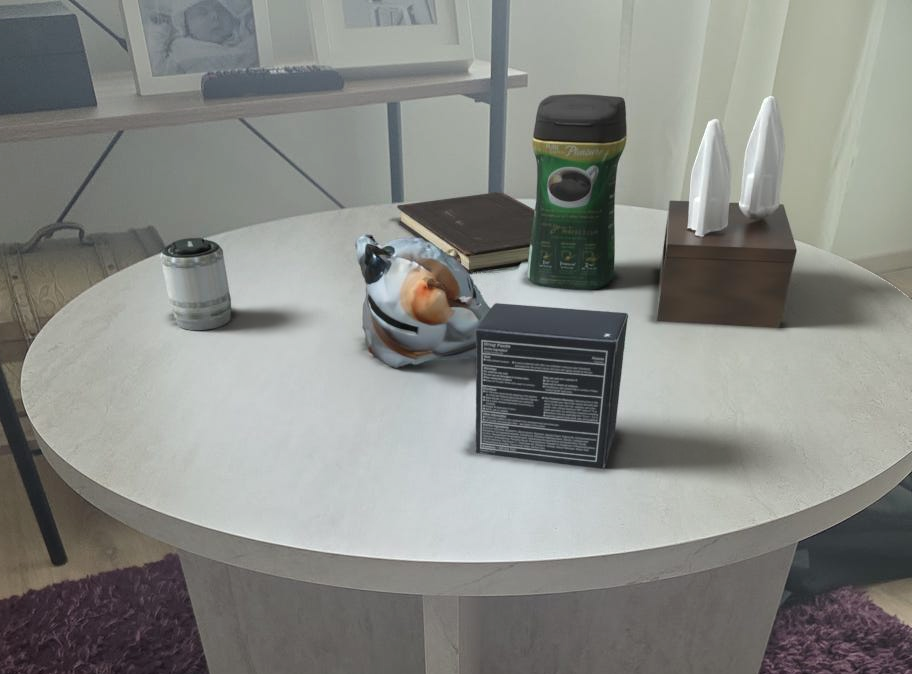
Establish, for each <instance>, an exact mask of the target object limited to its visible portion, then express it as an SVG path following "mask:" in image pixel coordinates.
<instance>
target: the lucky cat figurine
mask: <svg viewBox="0 0 912 674" xmlns="http://www.w3.org/2000/svg"><path fill="white" fill-rule="evenodd" d="M354 247H355V249H356V260H357V263H358V265H359V267H360V271H361V275H362V277H363V279H364V283H365V298H364V301H363V304H362V318H361V319H362V330H363V331H364V342H365V346H366V348H367V351H368V353H369V354H372V355H373V356H374V357H376V358H377V359H379V360H380V361H382V362H384V363H385V364H386V365H388V366H390V367H393V368H394V369H398V368H402V367H405V366H408V365H411V364H413V365H419V364H422V363H424V362H427V361H437V360H438V361H440V360H453V359H454V360H455V359H464V358H466V359H468V358H475V357H476V358H477V354H476V346H477V343H476V328H477V327H478V325H479V324H480V322H481V321H482V320H483V318H484V317H485V315H486V314H487V313H488V311H489V310H490V309H491V307H490V306H489V305H488V303H487V302H486V301H485V298H484V297H483V295H482V293H481V291H480V289H479V287H478V286H477V285H476V283H474V280H473V278H472V276H471V274H470V273H468V272H467V271H466V269H465V268H464V267H463V266H462V265H461V258H460V255H459V254H458V252H457V251H456V250H454V249H450V250H448V251H446V252H444V251H443V250H442V249H439V248H438V247H437V246H436V245H434V244H432V243H430V242H426V241H424V240H423V239H422V238H417V237H398V238H397V237H396V238H394V239H392V240H389V241H387V242H386V243H385V244H380V243H378V241H376V239H375V238H374V236H373V235H372V234H368V233H365V234H363V235H361V236H360V237H359V238H357V239H356V240H355V241H354Z"/></svg>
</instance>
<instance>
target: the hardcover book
mask: <svg viewBox="0 0 912 674" xmlns="http://www.w3.org/2000/svg"><path fill="white" fill-rule="evenodd" d="M396 208H397V209H398V210H399V211H400V220H397V224H398V225H400V226H401V227H403V228H404V229H405V230H407V231H408V232H409V233H411V234H412V235H413V236H415V238H422V239H423V240H424V241H426V242H430V243H432V244H434V245H436V246H437V247H438V248H439V249H442V250H443V251H444V252H446V251H448V250H450V249H454V250H456V251H457V252H458V254H459V255H460V258H461V265H462V266H463V267H464V268H465V269H466V271H467V272H468V273H469V274H474V273H481V272H487V271H494V270H499V269H507V268H513V267H519V266H521V264H522V261H527V260H529V251H530V243H531V236H532V228H533V221H534V212H535V208H532V207H530V206H528V205H527V204H525V203H523V202H521V201H519V200H518V199H516V198H514V197H512V196H510V195H508V194H506V193H504V192H503V191H496V192H489V193H481V194H480V193H479V194H474V195H467V196H466V195H465V196H458V197H449V198H444V199H435V200H429V201H421V202H412V203H405V204H398V205H396Z"/></svg>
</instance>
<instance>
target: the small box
mask: <svg viewBox="0 0 912 674" xmlns="http://www.w3.org/2000/svg"><path fill="white" fill-rule="evenodd" d="M490 308H491V309H490V310H489V311H488V313H487V314H486V315H485V317H484V318H483V320H482V321H481V322H480V324H479V325H478V327H477V328H476V343H477V346H476V354H477V357H476V361H475V363H476V364H475V365H476V366H475V367H476V368H475V369H476V372H475V445H474V453H475V454H481V455H488V456H496V457H503V458H513V459H519V460H528V461H534V462H535V461H536V462H543V463H550V464H551V463H553V464H559V465H567V466H576V467H585V468H593V469H601V470H603V469H606V468H608V459H609V457H610V454H611V453H610V452H611V450H612V446H613V443H614V440H615V436H616V428H617V427H616V426H617V418H618V408H619V399H620V391H621V390H620V388H621V381H622V373H623V363H624V362H623V361H624V353H625V347H626V346H625V344H626V335H627V326H628V319H629V314H628V313H627V312H619V311H616V312H615V311H605V310H604V311H603V310H590V309H580V308H579V309H578V308H577V309H576V308H565V307H564V308H563V307H553V306H552V307H551V306H540V305H539V306H538V305H526V304H525V305H524V304H511V303H499V302H495V303H494V304H493V305H492V306H491V307H490Z"/></svg>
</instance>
